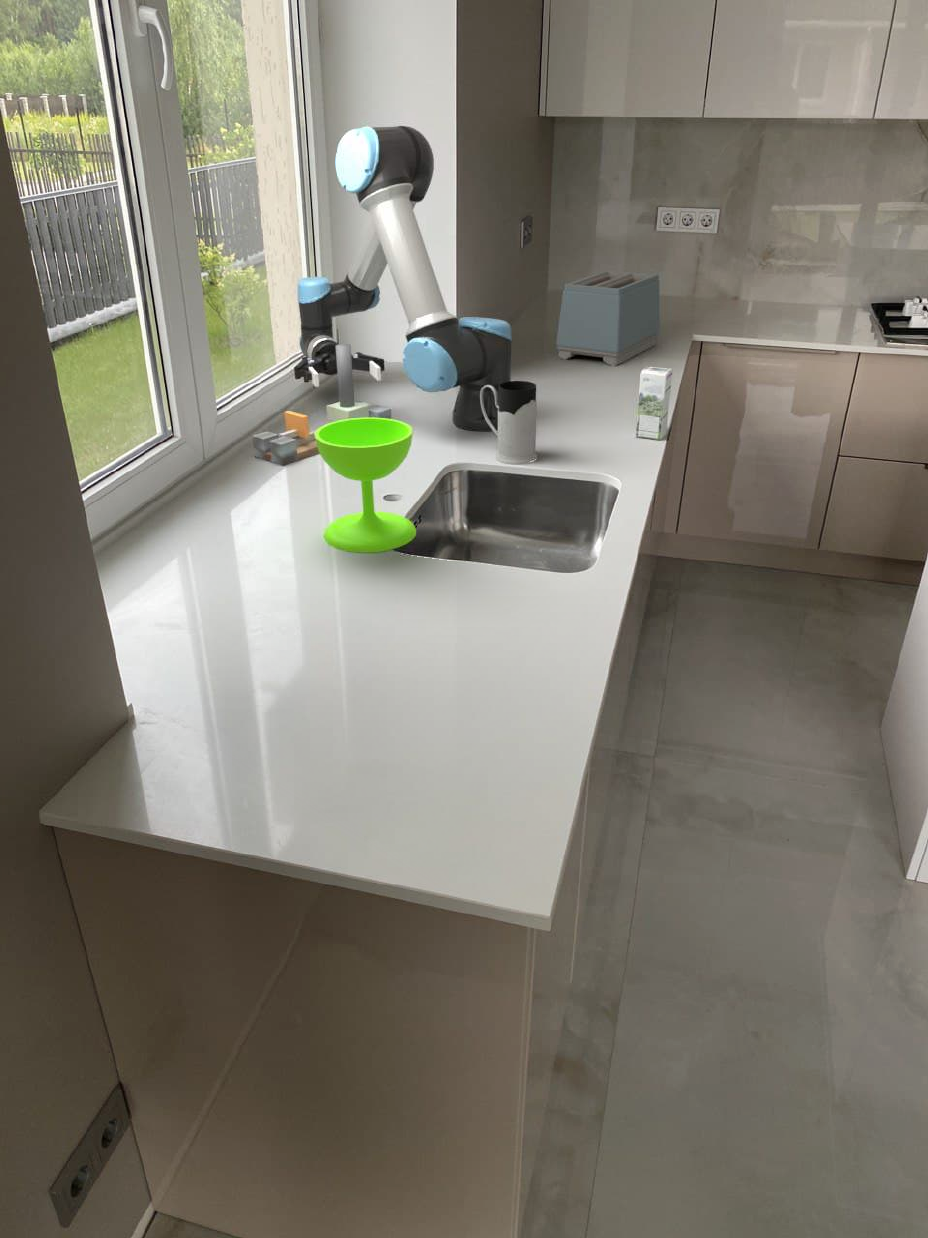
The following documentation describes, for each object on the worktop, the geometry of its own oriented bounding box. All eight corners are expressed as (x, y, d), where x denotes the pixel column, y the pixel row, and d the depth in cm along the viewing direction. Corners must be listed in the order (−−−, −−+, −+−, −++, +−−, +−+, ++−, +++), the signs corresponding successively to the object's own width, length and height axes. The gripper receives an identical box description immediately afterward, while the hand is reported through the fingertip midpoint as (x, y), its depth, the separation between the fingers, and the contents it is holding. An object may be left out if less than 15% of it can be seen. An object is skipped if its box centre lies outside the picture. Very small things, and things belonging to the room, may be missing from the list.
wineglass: (312, 524, 167) (303, 424, 158) (398, 509, 173) (393, 412, 164) (338, 559, 154) (330, 453, 146) (430, 542, 160) (427, 439, 151)
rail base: (391, 428, 215) (390, 408, 213) (282, 465, 194) (280, 444, 192) (364, 420, 220) (362, 401, 218) (254, 456, 199) (252, 435, 197)
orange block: (309, 436, 199) (307, 415, 197) (290, 443, 196) (288, 421, 194) (290, 431, 203) (288, 410, 200) (271, 437, 199) (269, 416, 197)
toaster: (663, 343, 287) (669, 272, 277) (616, 367, 261) (621, 290, 252) (605, 336, 296) (609, 267, 286) (554, 359, 270) (557, 284, 261)
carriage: (369, 418, 210) (364, 345, 203) (349, 424, 206) (344, 350, 199) (347, 412, 214) (342, 340, 207) (327, 418, 210) (321, 345, 203)
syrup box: (667, 433, 210) (673, 367, 203) (660, 441, 205) (666, 374, 198) (642, 430, 212) (647, 365, 205) (634, 437, 207) (639, 371, 200)
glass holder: (519, 467, 192) (520, 393, 184) (467, 452, 200) (466, 381, 193) (546, 456, 197) (548, 384, 190) (494, 442, 206) (494, 373, 198)
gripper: (379, 366, 226) (404, 388, 208) (275, 376, 219) (292, 400, 201) (377, 334, 222) (403, 354, 205) (271, 343, 215) (288, 365, 197)
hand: (348, 377), depth 203 cm, fingers open, 13 cm apart
